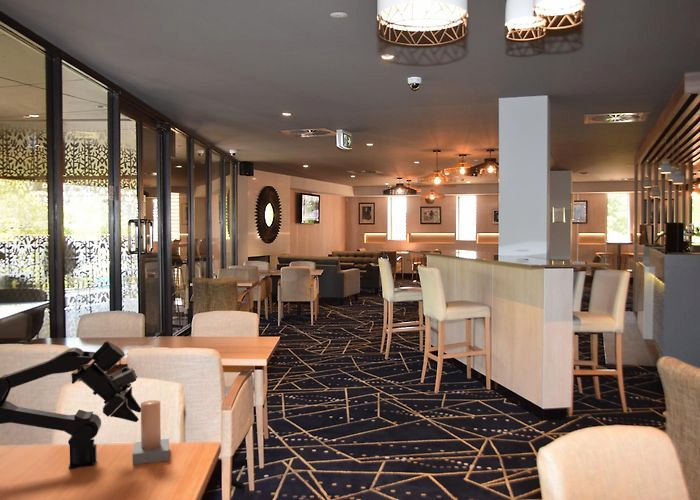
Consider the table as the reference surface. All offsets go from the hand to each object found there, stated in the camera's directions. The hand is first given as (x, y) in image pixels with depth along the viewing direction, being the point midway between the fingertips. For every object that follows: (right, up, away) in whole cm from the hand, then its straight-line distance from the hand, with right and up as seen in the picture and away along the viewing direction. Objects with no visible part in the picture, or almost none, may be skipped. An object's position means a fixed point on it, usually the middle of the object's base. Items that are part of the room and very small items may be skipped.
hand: (139, 415), depth 174 cm
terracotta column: (+3, -9, +1) cm, 10 cm away
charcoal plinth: (+3, -12, +1) cm, 13 cm away
